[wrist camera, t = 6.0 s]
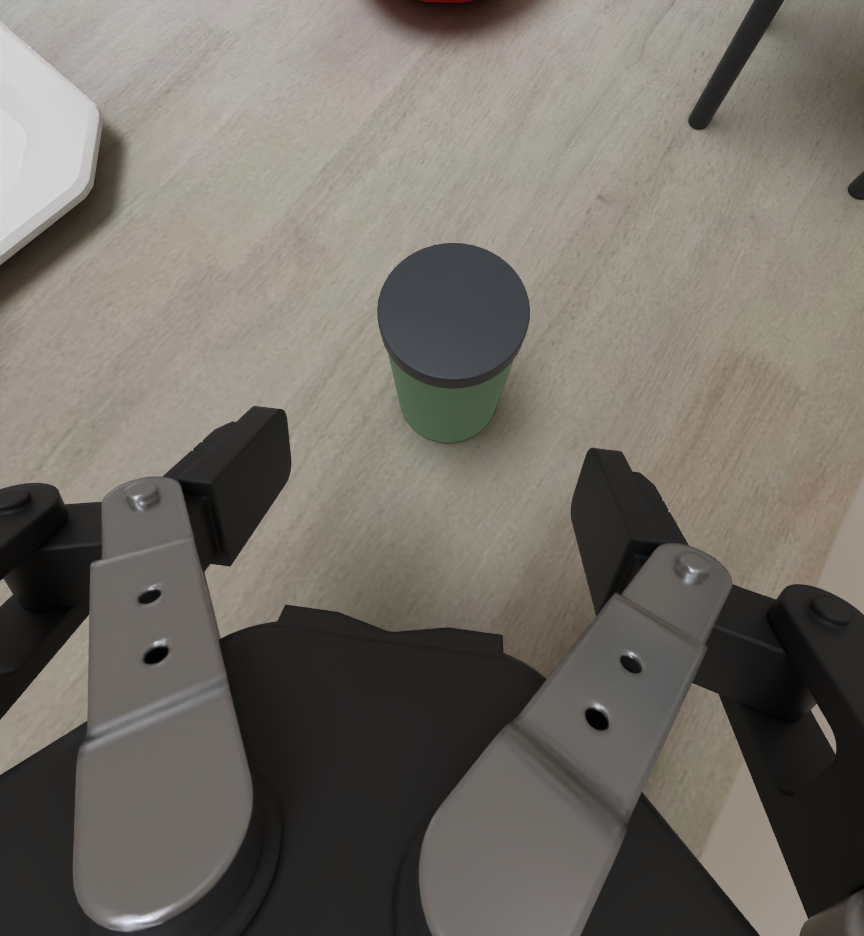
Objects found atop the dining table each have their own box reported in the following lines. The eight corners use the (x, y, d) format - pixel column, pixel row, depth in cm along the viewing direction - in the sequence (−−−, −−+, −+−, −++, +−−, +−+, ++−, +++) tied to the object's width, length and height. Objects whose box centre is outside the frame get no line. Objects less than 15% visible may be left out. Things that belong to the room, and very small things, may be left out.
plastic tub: (516, 379, 23) (556, 284, 15) (466, 463, 22) (483, 407, 14) (430, 333, 24) (426, 219, 16) (378, 413, 23) (347, 333, 15)
